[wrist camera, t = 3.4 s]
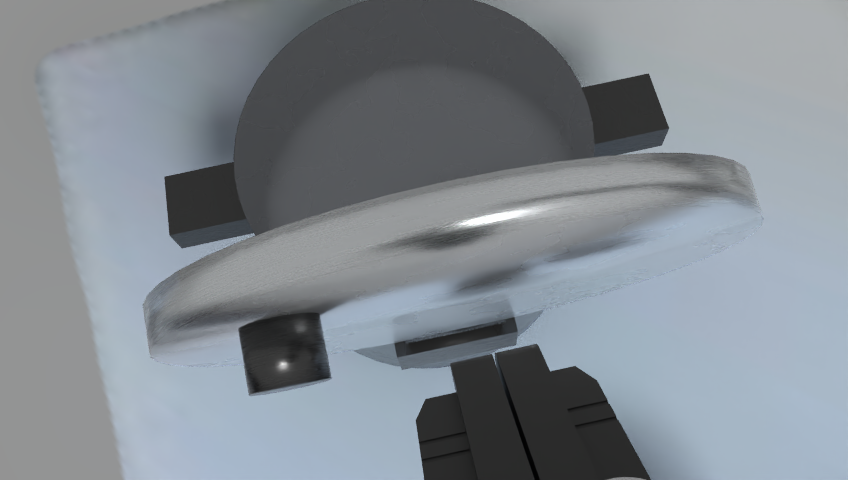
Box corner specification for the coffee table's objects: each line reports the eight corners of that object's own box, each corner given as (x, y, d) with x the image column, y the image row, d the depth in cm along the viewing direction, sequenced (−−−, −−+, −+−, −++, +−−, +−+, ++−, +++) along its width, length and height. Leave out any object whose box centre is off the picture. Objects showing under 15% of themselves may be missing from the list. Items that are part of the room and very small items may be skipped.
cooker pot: (680, 343, 41) (737, 281, 32) (244, 438, 41) (174, 403, 32) (587, 66, 48) (612, -52, 39) (210, 146, 48) (144, 47, 38)
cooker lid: (652, 256, 32) (671, 326, 32) (242, 345, 32) (254, 417, 32) (882, 82, 15) (934, 227, 15) (2, 270, 15) (18, 426, 14)
